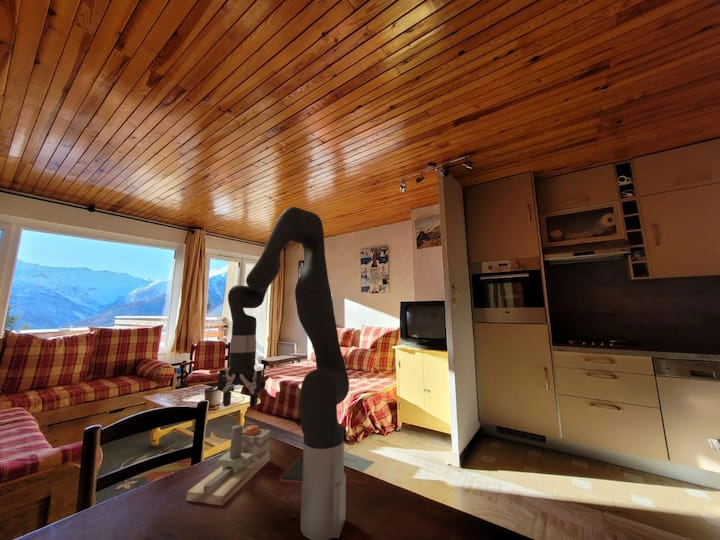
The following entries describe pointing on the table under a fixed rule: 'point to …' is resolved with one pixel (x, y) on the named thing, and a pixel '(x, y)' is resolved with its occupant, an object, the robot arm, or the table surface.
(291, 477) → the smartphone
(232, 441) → the carriage
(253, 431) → the button
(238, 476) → the rail base
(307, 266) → the robot arm
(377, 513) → the table surface
